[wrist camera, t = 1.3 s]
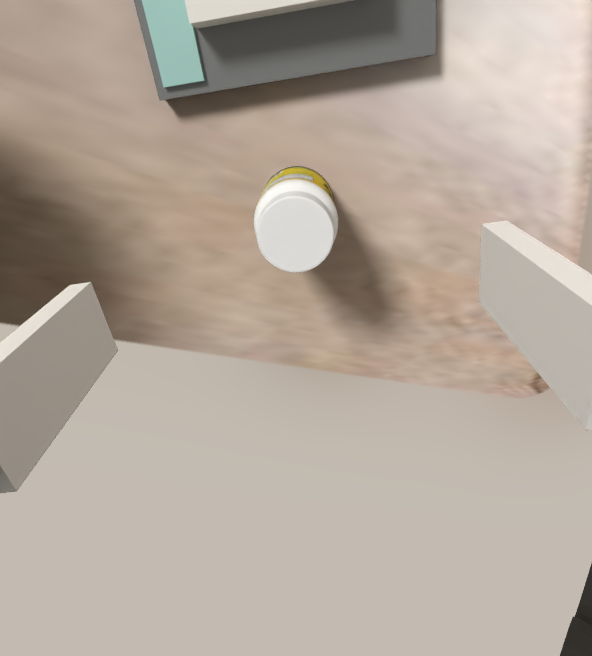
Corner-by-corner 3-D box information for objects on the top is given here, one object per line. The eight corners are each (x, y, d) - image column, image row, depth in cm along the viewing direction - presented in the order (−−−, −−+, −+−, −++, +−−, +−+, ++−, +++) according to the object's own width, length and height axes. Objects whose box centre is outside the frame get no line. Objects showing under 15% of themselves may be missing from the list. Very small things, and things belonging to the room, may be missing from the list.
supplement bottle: (333, 234, 31) (342, 279, 24) (265, 238, 31) (253, 283, 24) (332, 161, 29) (341, 185, 21) (259, 166, 29) (243, 191, 22)
